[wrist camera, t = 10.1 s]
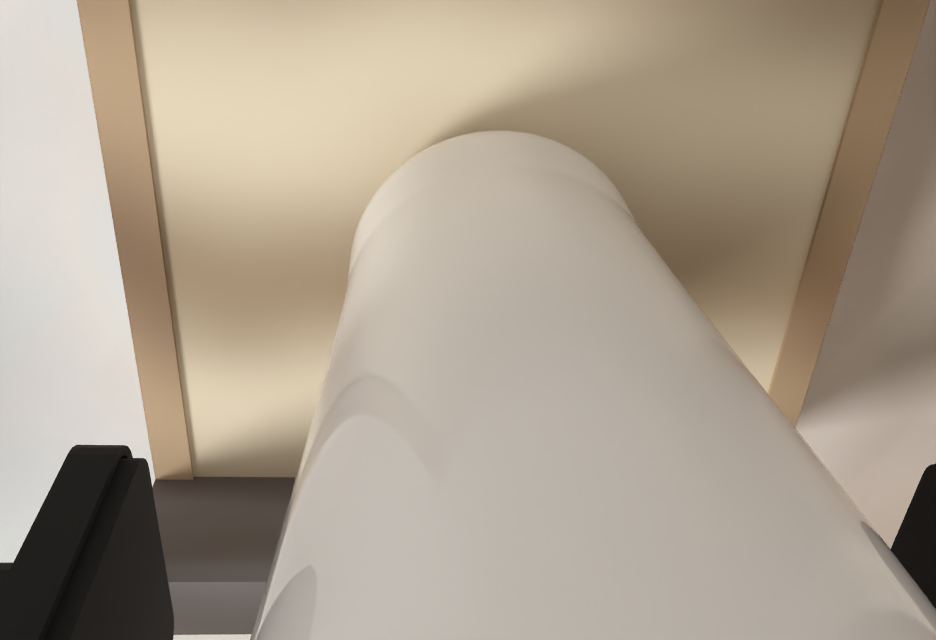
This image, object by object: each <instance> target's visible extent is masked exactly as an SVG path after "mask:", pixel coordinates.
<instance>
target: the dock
mask: <svg viewBox="0 0 936 640" xmlns="http://www.w3.org/2000/svg"><path fill="white" fill-rule="evenodd" d="M929 3H930V0H77V5H78V11H79V17H80V23H81V29H82V35H83V41H84V47H85V54H86V60H87V66H88V72H89V78H90V84H91V90H92V96H93V102H94V108H95V114H96V120H97V126H98V133H99V139H100V145H101V151H102V157H103V163H104V169H105V175H106V181H107V187H108V193H109V199H110V206H111V212H112V218H113V224H114V230H115V236H116V242H117V248H118V254H119V260H120V266H121V272H122V279H123V285H124V291H125V297H126V303H127V309H128V315H129V321H130V327H131V333H132V339H133V345H134V352H135V358H136V364H137V370H138V376H139V382H140V388H141V394H142V400H143V406H144V412H145V418H146V425H147V431H148V437H149V443H150V449H151V455H152V461H153V467H154V473H155V479H156V480H155V482H154V485H153V488H152V489H153V495H154V501H155V507H156V513H157V519H158V525H159V531H160V537H161V543H162V548H163V554H164V560H165V566H166V572H167V578H168V584H169V590H170V596H171V601H172V607H173V613H174V635H198V634H252V631H253V628H254V624H255V621H256V617H257V614H258V610H259V606H260V603H261V599H262V596H263V592H264V589H265V585H266V582H267V578H268V574H269V571H270V567H271V564H272V560H273V557H274V553H275V550H276V546H277V542H278V539H279V535H280V532H281V528H282V525H283V521H284V518H285V514H286V510H287V507H288V503H289V500H290V496H291V493H292V489H293V486H294V482H295V479H296V475H297V471H298V468H299V464H300V461H301V457H302V453H303V450H304V446H305V443H306V439H307V435H308V432H309V428H310V424H311V421H312V417H313V414H314V410H315V406H316V403H317V399H318V395H319V392H320V388H321V384H322V381H323V377H324V373H325V370H326V366H327V362H328V358H329V355H330V351H331V347H332V343H333V340H334V336H335V332H336V328H337V325H338V321H339V317H340V313H341V309H342V305H343V301H344V297H345V293H346V289H347V279H348V269H349V260H350V254H351V248H352V243H353V239H354V236H355V232H356V229H357V226H358V224H359V221H360V219H361V216H362V214H363V212H364V210H365V208H366V207H367V205H368V203H369V201H370V200H371V198H372V197H373V195H374V194H375V192H376V191H377V189H378V188H379V187H380V186H381V185H382V183H383V182H384V181H385V180H386V179H387V178H388V177H389V176H390V175H391V174H392V173H393V172H394V171H395V170H396V169H397V168H398V167H400V166H401V165H402V164H403V163H405V162H406V161H407V160H408V159H410V158H411V157H413V156H414V155H416V154H418V153H419V152H421V151H423V150H424V149H426V148H428V147H430V146H432V145H434V144H437V143H439V142H441V141H444V140H446V139H449V138H453V137H456V136H459V135H463V134H468V133H473V132H480V131H490V130H509V131H521V132H526V133H532V134H536V135H540V136H543V137H547V138H550V139H552V140H555V141H557V142H560V143H562V144H565V145H566V146H568V147H570V148H572V149H574V150H576V151H578V152H579V153H581V154H582V155H584V156H585V157H586V158H588V159H589V160H590V161H592V162H593V163H594V164H595V165H596V166H598V167H599V168H600V169H601V170H602V171H603V172H604V173H605V174H606V175H607V176H608V177H609V178H610V180H611V181H612V182H613V183H614V185H615V186H616V187H617V189H618V190H619V191H620V193H621V194H622V196H623V198H624V199H625V201H626V203H627V204H628V206H629V208H630V210H631V211H632V213H633V215H634V217H635V219H636V221H637V222H638V224H639V226H640V228H641V230H642V231H643V233H644V234H645V236H646V237H647V238H648V240H649V241H650V242H651V244H652V245H653V246H654V248H655V249H656V250H657V252H658V253H659V254H660V256H661V257H662V258H663V260H664V261H665V262H666V263H667V265H668V266H669V267H670V269H671V270H672V271H673V273H674V274H675V275H676V277H677V278H678V279H679V281H680V282H681V283H682V284H683V286H684V287H685V288H686V290H687V291H688V292H689V293H690V295H691V296H692V297H693V299H694V300H695V301H696V303H697V304H698V305H699V306H700V308H701V309H702V310H703V312H704V313H705V314H706V315H707V317H708V318H709V319H710V321H711V322H712V323H713V324H714V326H715V327H716V328H717V329H718V331H719V332H720V333H721V335H722V336H723V337H724V338H725V340H726V341H727V342H728V344H729V345H730V346H731V347H732V349H733V350H734V351H735V352H736V354H737V355H738V356H739V358H740V359H741V360H742V361H743V363H744V364H745V365H746V367H747V368H748V369H749V370H750V372H751V373H752V374H753V375H754V377H755V378H756V379H757V380H758V382H759V383H760V384H761V386H762V387H763V388H764V389H765V391H766V392H767V393H768V394H769V396H770V397H771V398H772V399H773V401H774V402H775V403H776V404H777V406H778V407H779V408H780V410H781V411H782V412H783V413H784V415H785V416H786V417H787V418H788V420H789V421H790V422H791V423H792V425H793V426H794V427H796V424H797V421H798V418H799V414H800V411H801V408H802V405H803V402H804V399H805V395H806V392H807V389H808V386H809V383H810V380H811V376H812V373H813V370H814V367H815V364H816V361H817V357H818V354H819V351H820V348H821V345H822V342H823V338H824V335H825V332H826V329H827V326H828V323H829V319H830V316H831V313H832V310H833V307H834V304H835V300H836V297H837V294H838V291H839V288H840V285H841V281H842V278H843V275H844V272H845V269H846V266H847V262H848V259H849V256H850V253H851V250H852V247H853V243H854V240H855V237H856V234H857V231H858V228H859V224H860V221H861V218H862V215H863V212H864V208H865V205H866V202H867V199H868V196H869V193H870V189H871V186H872V183H873V180H874V177H875V174H876V170H877V167H878V164H879V161H880V158H881V155H882V151H883V148H884V145H885V142H886V139H887V136H888V132H889V129H890V126H891V123H892V120H893V117H894V113H895V110H896V107H897V104H898V101H899V98H900V94H901V91H902V88H903V85H904V82H905V79H906V75H907V72H908V69H909V66H910V63H911V60H912V56H913V53H914V50H915V47H916V44H917V41H918V37H919V34H920V31H921V28H922V25H923V22H924V18H925V15H926V12H927V9H928V6H929Z"/></svg>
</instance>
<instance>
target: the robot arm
mask: <svg viewBox="0 0 936 640" xmlns="http://www.w3.org/2000/svg"><path fill="white" fill-rule="evenodd" d="M891 551H892V552H893V554H894V555H895V556H896V557H897V559H898V560H899V561H900V563H901V564H902V565H903V567H904V568H905V569H906V570H907V572H908V573H909V574H910V576H911V577H912V578H913V580H914V581H915V582H916V583H917V585H918V586H919V587H920V589H921V590H922V591H923V593H924V594H925V595H926V596H927V598H928V599H929V600H930V602H931V603H932V604H933V606H934V607H935V608H936V464H933V465H930V466H928V467H927V468H926V470H925V471H924V473H923V475H922V477H921V480H920V482H919V484H918V487H917V489H916V491H915V494H914V496H913V498H912V501H911V503H910V506H909V508H908V510H907V513H906V515H905V517H904V520H903V522H902V524H901V527H900V529H899V531H898V534H897V536H896V538H895V541H894V543H893V545H892V548H891ZM173 635H174V613H173V607H172V601H171V596H170V590H169V584H168V578H167V572H166V566H165V560H164V554H163V548H162V543H161V537H160V531H159V525H158V519H157V513H156V507H155V501H154V495H153V489H152V484H151V478H150V472H149V467H148V463H147V461H146V459H144V458H133V457H132V454H131V451H130V449H129V447H128V446H125V445H76V446H74V447H72V449H71V450H70V452H69V453H68V455H67V457H66V459H65V461H64V463H63V465H62V467H61V469H60V471H59V473H58V475H57V477H56V479H55V481H54V483H53V485H52V487H51V489H50V491H49V493H48V495H47V497H46V499H45V501H44V503H43V505H42V507H41V509H40V511H39V513H38V515H37V517H36V519H35V521H34V523H33V525H32V527H31V529H30V531H29V533H28V535H27V537H26V539H25V541H24V543H23V545H22V547H21V549H20V551H19V553H18V555H17V557H16V559H15V561H14V563H0V640H173Z"/></svg>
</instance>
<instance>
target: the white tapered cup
mask: <svg viewBox="0 0 936 640" xmlns="http://www.w3.org/2000/svg"><path fill="white" fill-rule="evenodd" d="M250 640H936V608H935V607H934V606H933V604H932V603H931V602H930V600H929V599H928V598H927V596H926V595H925V594H924V593H923V591H922V590H921V589H920V587H919V586H918V585H917V583H916V582H915V581H914V580H913V578H912V577H911V576H910V574H909V573H908V572H907V570H906V569H905V568H904V567H903V565H902V564H901V563H900V561H899V560H898V559H897V557H896V556H895V555H894V554H893V552H892V551H891V550H890V548H889V547H888V546H887V544H886V543H885V542H884V541H883V539H882V538H881V537H880V535H879V534H878V533H877V531H876V530H875V529H874V528H873V526H872V525H871V524H870V522H869V521H868V520H867V519H866V517H865V516H864V515H863V513H862V512H861V511H860V510H859V508H858V507H857V506H856V504H855V503H854V502H853V501H852V499H851V498H850V497H849V496H848V494H847V493H846V492H845V491H844V489H843V488H842V487H841V485H840V484H839V483H838V482H837V480H836V479H835V478H834V477H833V475H832V474H831V473H830V472H829V470H828V469H827V468H826V466H825V465H824V464H823V463H822V461H821V460H820V459H819V458H818V456H817V455H816V454H815V453H814V451H813V450H812V449H811V447H810V446H809V445H808V444H807V442H806V441H805V440H804V439H803V437H802V436H801V435H800V434H799V432H798V431H797V430H796V428H795V427H794V426H793V425H792V423H791V422H790V421H789V420H788V418H787V417H786V416H785V415H784V413H783V412H782V411H781V410H780V408H779V407H778V406H777V404H776V403H775V402H774V401H773V399H772V398H771V397H770V396H769V394H768V393H767V392H766V391H765V389H764V388H763V387H762V386H761V384H760V383H759V382H758V380H757V379H756V378H755V377H754V375H753V374H752V373H751V372H750V370H749V369H748V368H747V367H746V365H745V364H744V363H743V361H742V360H741V359H740V358H739V356H738V355H737V354H736V352H735V351H734V350H733V349H732V347H731V346H730V345H729V344H728V342H727V341H726V340H725V338H724V337H723V336H722V335H721V333H720V332H719V331H718V329H717V328H716V327H715V326H714V324H713V323H712V322H711V321H710V319H709V318H708V317H707V315H706V314H705V313H704V312H703V310H702V309H701V308H700V306H699V305H698V304H697V303H696V301H695V300H694V299H693V297H692V296H691V295H690V293H689V292H688V291H687V290H686V288H685V287H684V286H683V284H682V283H681V282H680V281H679V279H678V278H677V277H676V275H675V274H674V273H673V271H672V270H671V269H670V267H669V266H668V265H667V263H666V262H665V261H664V260H663V258H662V257H661V256H660V254H659V253H658V252H657V250H656V249H655V248H654V246H653V245H652V244H651V242H650V241H649V240H648V238H647V237H646V236H645V234H644V233H643V231H642V230H641V228H640V226H639V224H638V222H637V221H636V219H635V217H634V215H633V213H632V211H631V210H630V208H629V206H628V204H627V203H626V201H625V199H624V198H623V196H622V194H621V193H620V191H619V190H618V189H617V187H616V186H615V185H614V183H613V182H612V181H611V180H610V178H609V177H608V176H607V175H606V174H605V173H604V172H603V171H602V170H601V169H600V168H599V167H598V166H596V165H595V164H594V163H593V162H592V161H590V160H589V159H588V158H586V157H585V156H584V155H582V154H581V153H579V152H578V151H576V150H574V149H572V148H570V147H568V146H566V145H565V144H562V143H560V142H557V141H555V140H552V139H550V138H547V137H543V136H540V135H536V134H532V133H526V132H521V131H509V130H490V131H480V132H473V133H468V134H463V135H459V136H456V137H453V138H449V139H446V140H444V141H441V142H439V143H437V144H434V145H432V146H430V147H428V148H426V149H424V150H423V151H421V152H419V153H418V154H416V155H414V156H413V157H411V158H410V159H408V160H407V161H406V162H405V163H403V164H402V165H401V166H400V167H398V168H397V169H396V170H395V171H394V172H393V173H392V174H391V175H390V176H389V177H388V178H387V179H386V180H385V181H384V182H383V183H382V185H381V186H380V187H379V188H378V189H377V191H376V192H375V194H374V195H373V197H372V198H371V200H370V201H369V203H368V205H367V207H366V208H365V210H364V212H363V214H362V216H361V219H360V221H359V224H358V226H357V229H356V232H355V236H354V239H353V243H352V248H351V254H350V260H349V269H348V279H347V289H346V293H345V297H344V301H343V305H342V309H341V313H340V317H339V321H338V325H337V328H336V332H335V336H334V340H333V343H332V347H331V351H330V355H329V358H328V362H327V366H326V370H325V373H324V377H323V381H322V384H321V388H320V392H319V395H318V399H317V403H316V406H315V410H314V414H313V417H312V421H311V424H310V428H309V432H308V435H307V439H306V443H305V446H304V450H303V453H302V457H301V461H300V464H299V468H298V471H297V475H296V479H295V482H294V486H293V489H292V493H291V496H290V500H289V503H288V507H287V510H286V514H285V518H284V521H283V525H282V528H281V532H280V535H279V539H278V542H277V546H276V550H275V553H274V557H273V560H272V564H271V567H270V571H269V574H268V578H267V582H266V585H265V589H264V592H263V596H262V599H261V603H260V606H259V610H258V614H257V617H256V621H255V624H254V628H253V631H252V635H251V639H250Z"/></svg>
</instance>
